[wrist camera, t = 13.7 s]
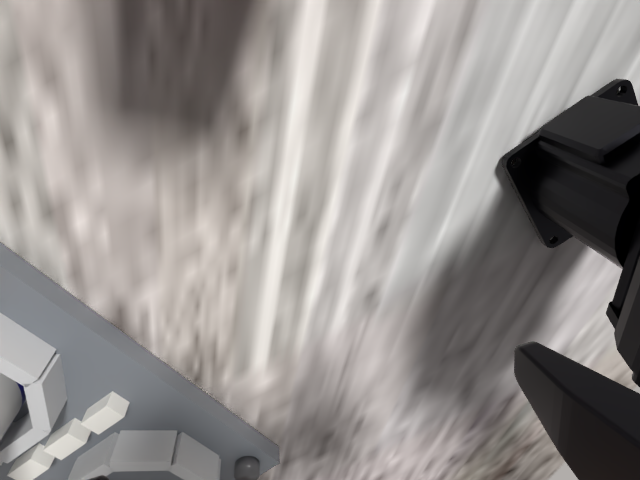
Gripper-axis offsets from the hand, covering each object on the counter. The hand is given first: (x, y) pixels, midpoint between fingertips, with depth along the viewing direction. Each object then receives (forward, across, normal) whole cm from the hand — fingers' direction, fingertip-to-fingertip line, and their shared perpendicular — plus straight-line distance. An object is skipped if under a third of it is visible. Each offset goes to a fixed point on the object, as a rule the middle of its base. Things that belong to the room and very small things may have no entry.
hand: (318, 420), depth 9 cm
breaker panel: (+13, +15, +10) cm, 23 cm away
